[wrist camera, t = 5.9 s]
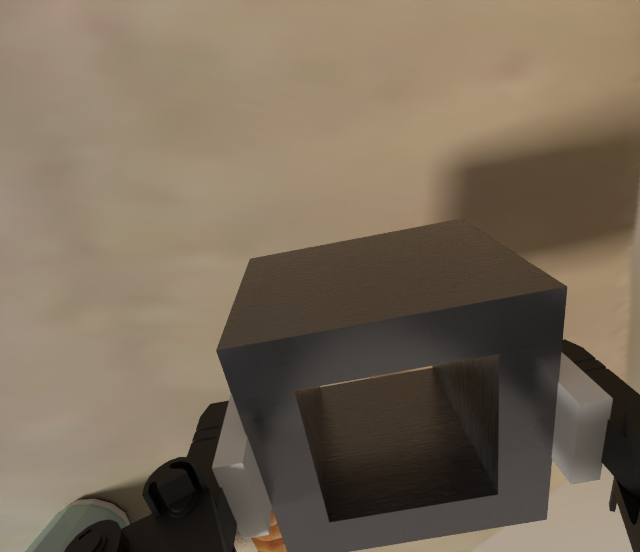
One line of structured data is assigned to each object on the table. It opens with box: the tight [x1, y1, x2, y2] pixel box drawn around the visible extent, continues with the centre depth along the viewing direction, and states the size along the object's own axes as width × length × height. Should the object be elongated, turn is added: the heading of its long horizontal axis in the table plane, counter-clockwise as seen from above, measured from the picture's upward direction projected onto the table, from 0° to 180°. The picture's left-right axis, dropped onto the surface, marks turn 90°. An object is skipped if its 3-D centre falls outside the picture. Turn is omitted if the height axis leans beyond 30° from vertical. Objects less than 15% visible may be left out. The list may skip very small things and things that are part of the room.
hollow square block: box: [216, 219, 567, 552], centre depth 13 cm, size 8×8×6 cm
